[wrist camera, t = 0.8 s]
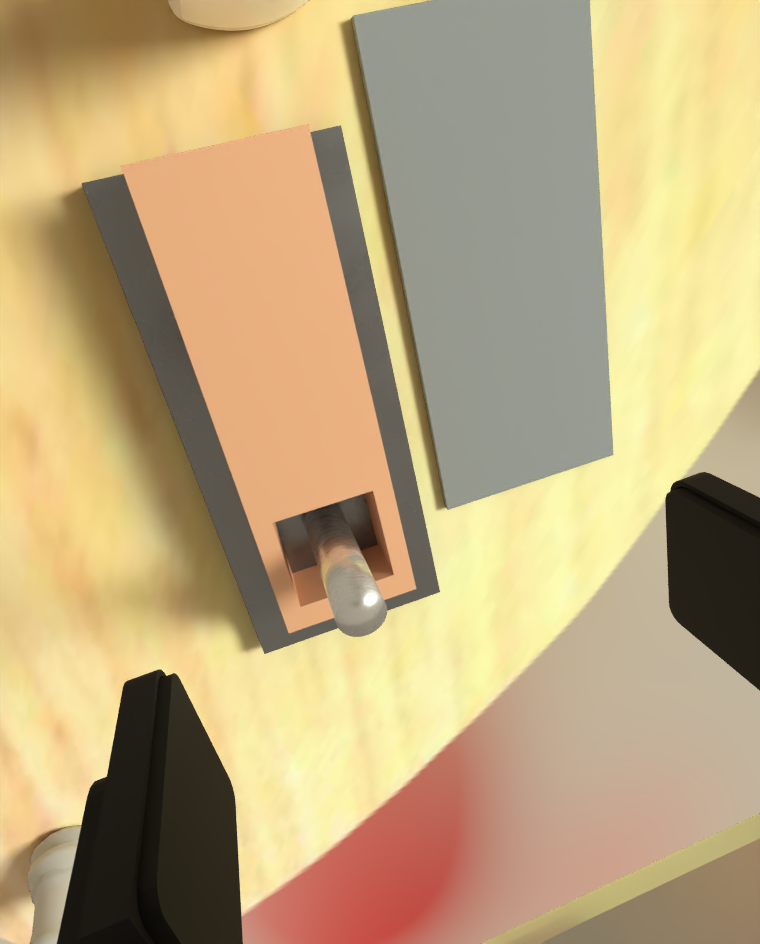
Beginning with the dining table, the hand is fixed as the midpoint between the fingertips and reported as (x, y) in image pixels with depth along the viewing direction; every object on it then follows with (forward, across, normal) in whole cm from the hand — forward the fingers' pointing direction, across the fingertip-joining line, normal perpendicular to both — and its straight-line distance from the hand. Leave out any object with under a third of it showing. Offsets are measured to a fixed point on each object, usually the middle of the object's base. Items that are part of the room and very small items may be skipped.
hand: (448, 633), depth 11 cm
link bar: (+18, +1, 0) cm, 18 cm away
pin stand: (+19, +1, +2) cm, 19 cm away
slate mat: (+19, -11, -2) cm, 22 cm away
